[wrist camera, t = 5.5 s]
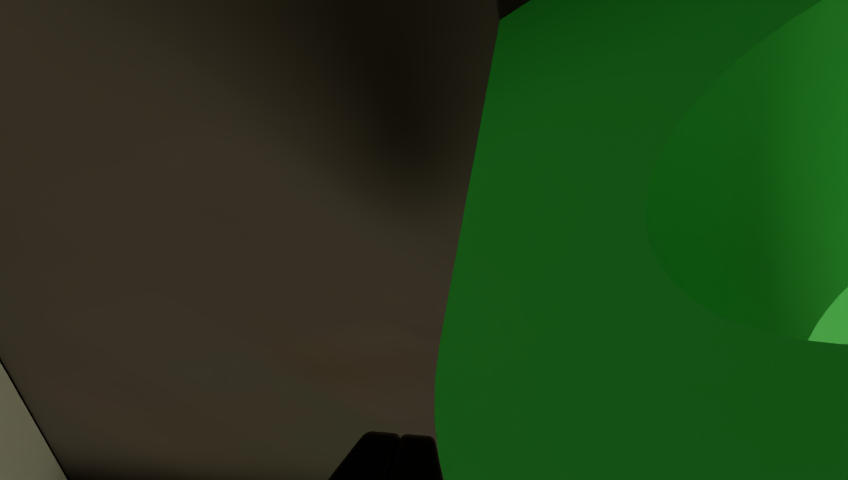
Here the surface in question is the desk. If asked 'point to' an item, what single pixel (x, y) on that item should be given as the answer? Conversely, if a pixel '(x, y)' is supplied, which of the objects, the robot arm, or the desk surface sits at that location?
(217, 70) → the desk surface
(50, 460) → the white u-shaped handle
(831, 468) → the mechanical part
